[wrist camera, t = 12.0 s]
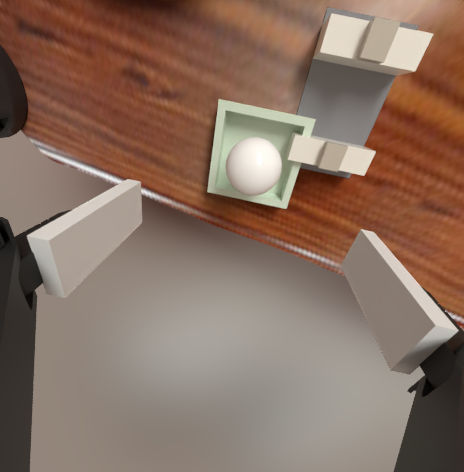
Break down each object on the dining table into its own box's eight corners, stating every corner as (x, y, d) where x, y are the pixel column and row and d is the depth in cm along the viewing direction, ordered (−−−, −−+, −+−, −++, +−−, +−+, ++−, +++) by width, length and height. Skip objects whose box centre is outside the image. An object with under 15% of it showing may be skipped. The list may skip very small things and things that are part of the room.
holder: (281, 162, 34) (285, 173, 29) (325, 9, 25) (341, -15, 20) (347, 176, 34) (362, 189, 29) (414, 27, 25) (453, 8, 20)
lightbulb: (243, 184, 35) (236, 211, 25) (226, 143, 32) (210, 157, 23) (283, 167, 33) (292, 190, 23) (268, 123, 30) (271, 128, 21)
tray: (211, 185, 36) (207, 192, 34) (222, 99, 30) (218, 99, 27) (284, 201, 36) (286, 208, 33) (311, 118, 30) (315, 119, 27)
